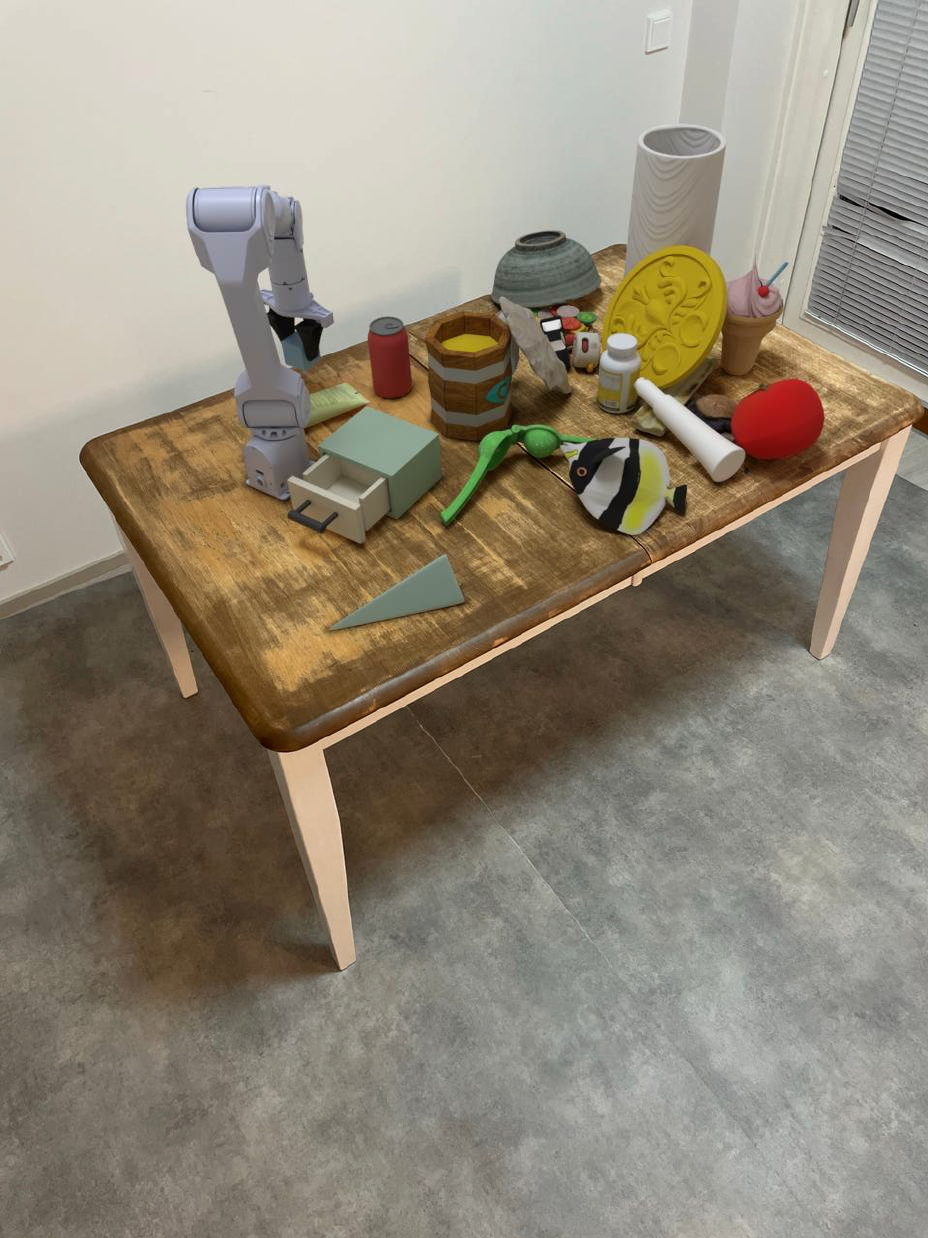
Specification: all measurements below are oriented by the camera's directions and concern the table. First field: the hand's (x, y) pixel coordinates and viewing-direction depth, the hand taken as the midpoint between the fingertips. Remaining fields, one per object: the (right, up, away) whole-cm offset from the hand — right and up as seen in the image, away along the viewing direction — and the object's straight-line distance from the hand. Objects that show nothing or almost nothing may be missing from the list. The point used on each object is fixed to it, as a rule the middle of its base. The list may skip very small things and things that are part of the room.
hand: (302, 354), depth 159 cm
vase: (+62, +11, +17) cm, 65 cm away
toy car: (+43, +3, +9) cm, 44 cm away
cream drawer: (+9, -29, -18) cm, 35 cm away
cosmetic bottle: (+66, -21, -17) cm, 71 cm away
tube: (-7, -14, -6) cm, 17 cm away
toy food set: (+43, +8, +15) cm, 47 cm away
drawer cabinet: (+14, -23, -12) cm, 29 cm away
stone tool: (+45, -5, +3) cm, 45 cm away
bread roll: (+67, -12, -4) cm, 68 cm away
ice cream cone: (+73, -1, +6) cm, 73 cm away
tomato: (+75, -19, -13) cm, 79 cm away
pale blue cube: (0, -1, +1) cm, 1 cm away
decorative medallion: (+59, +5, -1) cm, 60 cm away
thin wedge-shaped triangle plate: (+18, -43, -30) cm, 56 cm away
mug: (+30, -9, +1) cm, 31 cm away
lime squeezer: (+37, -21, -11) cm, 44 cm away
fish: (+51, -17, -18) cm, 56 cm away
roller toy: (+47, 0, +9) cm, 48 cm away
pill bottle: (+52, -8, 0) cm, 52 cm away
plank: (+60, -7, +1) cm, 60 cm away
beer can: (+15, -5, +6) cm, 16 cm away
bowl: (+40, +27, +18) cm, 52 cm away
